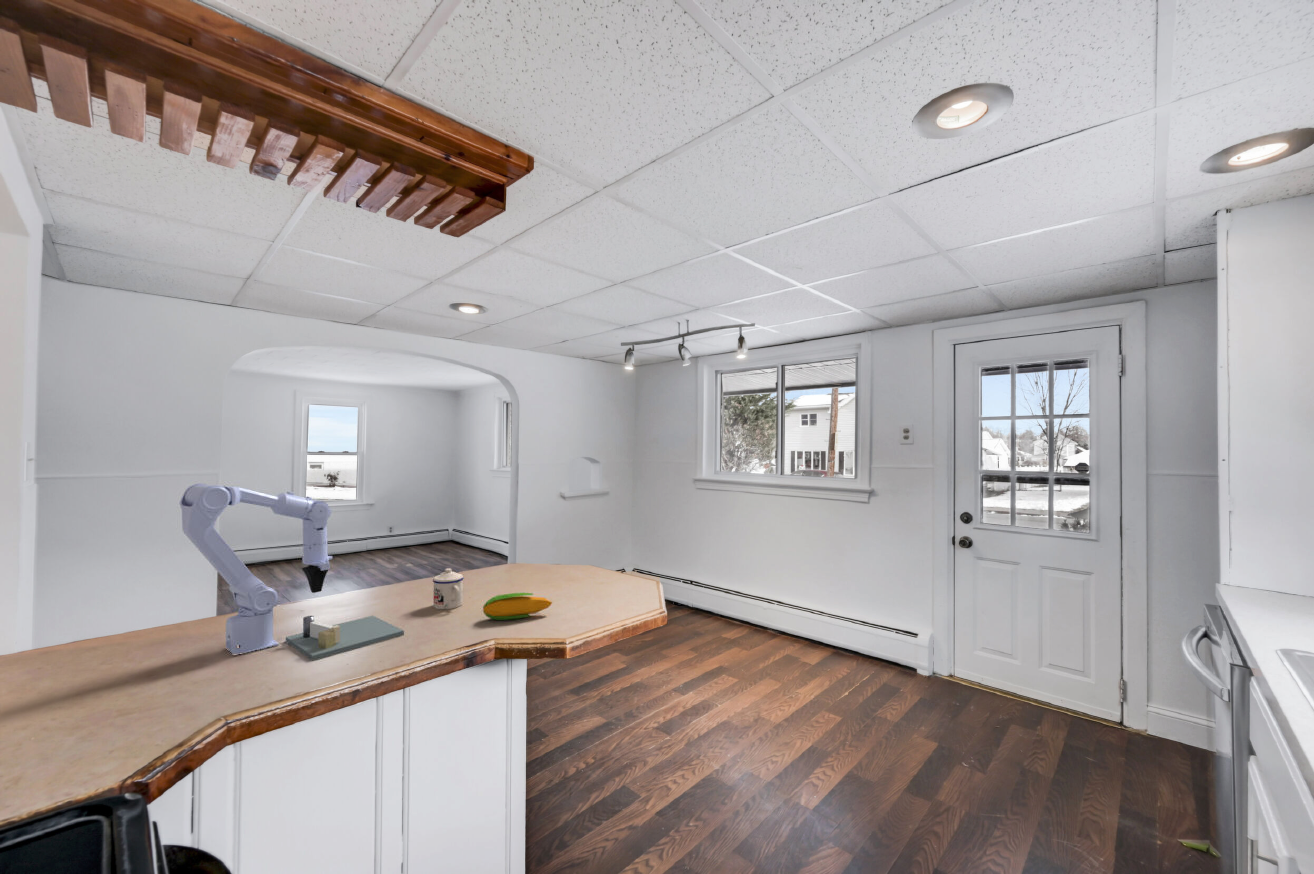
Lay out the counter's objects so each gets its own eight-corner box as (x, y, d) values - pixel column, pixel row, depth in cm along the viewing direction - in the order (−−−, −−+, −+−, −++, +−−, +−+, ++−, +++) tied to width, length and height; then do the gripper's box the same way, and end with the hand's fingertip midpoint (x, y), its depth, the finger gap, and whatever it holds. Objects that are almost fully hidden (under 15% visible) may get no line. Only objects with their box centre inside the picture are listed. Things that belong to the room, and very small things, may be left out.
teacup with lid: (428, 605, 173) (428, 568, 173) (455, 599, 179) (456, 564, 179) (443, 614, 164) (443, 575, 164) (472, 607, 170) (472, 570, 170)
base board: (312, 660, 130) (312, 655, 130) (285, 641, 142) (285, 636, 142) (403, 634, 147) (403, 630, 147) (372, 619, 159) (372, 615, 159)
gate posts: (322, 649, 134) (322, 629, 133) (301, 636, 142) (301, 617, 142) (336, 646, 136) (336, 626, 136) (315, 632, 145) (315, 614, 145)
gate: (309, 636, 141) (309, 621, 141) (314, 634, 142) (315, 619, 142) (334, 643, 137) (334, 627, 137) (339, 641, 138) (339, 625, 138)
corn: (482, 591, 162) (549, 585, 169) (482, 616, 162) (549, 609, 169) (483, 600, 155) (553, 593, 162) (483, 626, 155) (553, 618, 162)
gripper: (341, 544, 149) (342, 593, 150) (321, 537, 159) (322, 583, 159) (312, 548, 144) (313, 599, 144) (293, 541, 153) (294, 589, 153)
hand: (316, 591), depth 151 cm, fingers closed
